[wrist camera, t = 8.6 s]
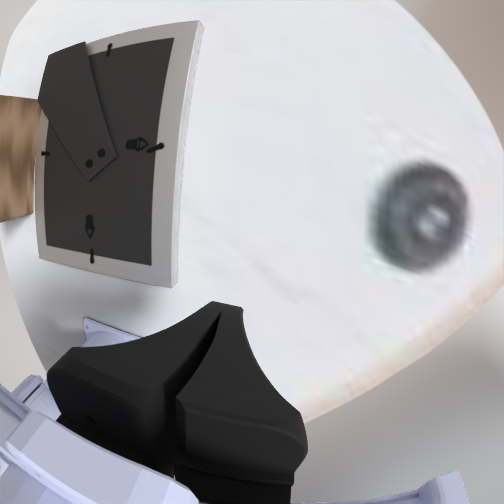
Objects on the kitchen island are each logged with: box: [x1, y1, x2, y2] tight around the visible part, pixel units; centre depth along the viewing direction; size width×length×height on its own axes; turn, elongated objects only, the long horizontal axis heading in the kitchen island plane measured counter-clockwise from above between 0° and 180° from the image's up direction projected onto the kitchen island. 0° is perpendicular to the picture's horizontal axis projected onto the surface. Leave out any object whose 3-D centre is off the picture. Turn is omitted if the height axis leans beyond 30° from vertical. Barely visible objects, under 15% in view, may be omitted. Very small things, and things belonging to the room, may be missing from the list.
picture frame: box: [35, 20, 204, 288], centre depth 18 cm, size 16×3×21 cm
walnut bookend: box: [0, 95, 41, 223], centre depth 16 cm, size 12×3×7 cm, turn 171°
